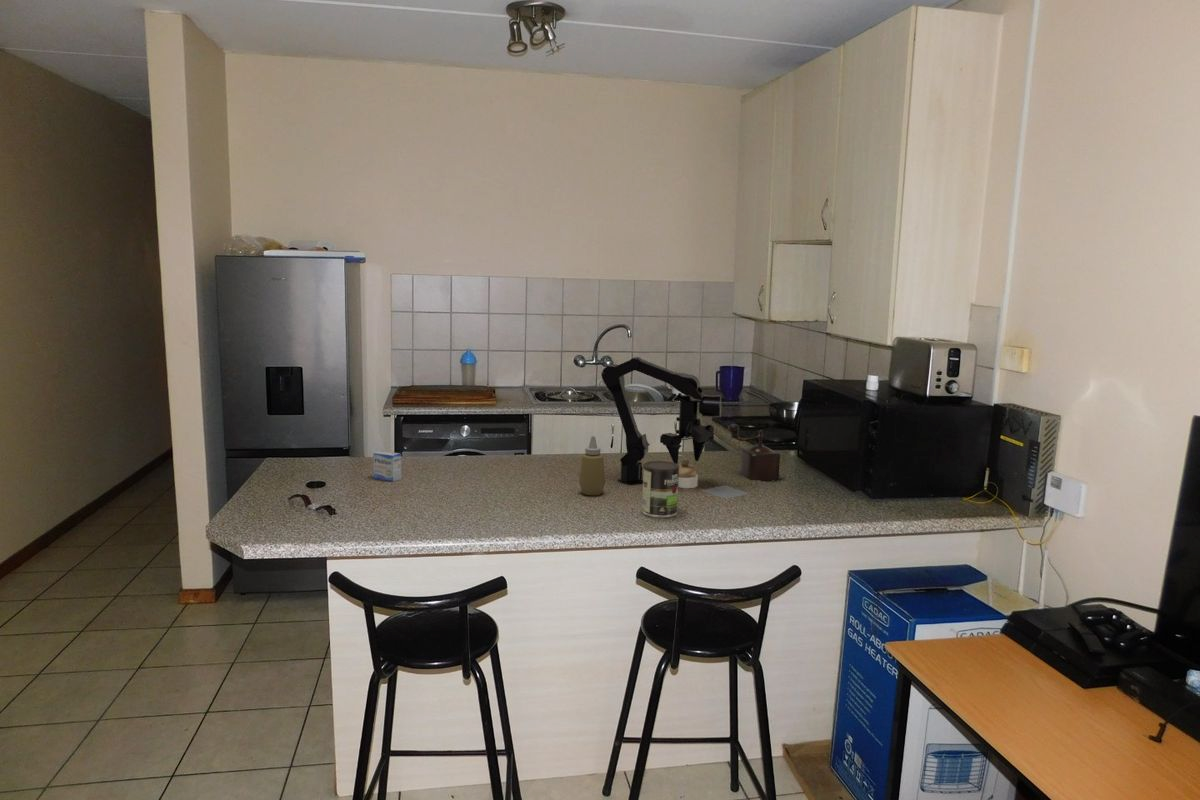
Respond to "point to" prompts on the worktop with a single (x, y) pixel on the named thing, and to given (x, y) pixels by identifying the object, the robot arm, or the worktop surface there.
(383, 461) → the medicine box
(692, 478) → the bowl
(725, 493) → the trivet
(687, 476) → the lid
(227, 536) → the worktop surface
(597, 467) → the squeeze bottle
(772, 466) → the manual coffee grinder
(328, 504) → the worktop surface
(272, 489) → the worktop surface
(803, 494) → the worktop surface
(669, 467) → the coffee can
